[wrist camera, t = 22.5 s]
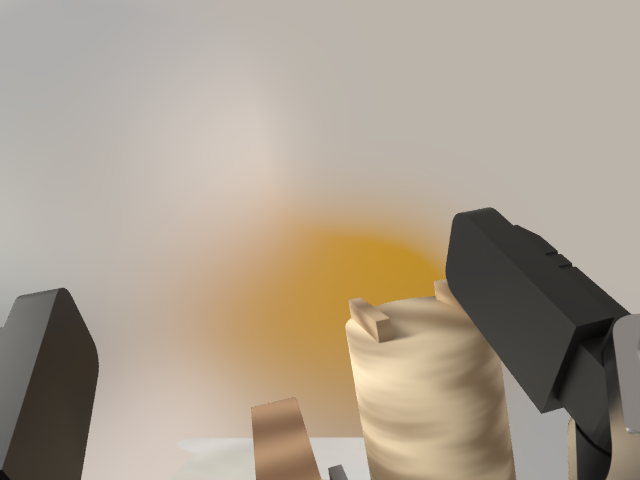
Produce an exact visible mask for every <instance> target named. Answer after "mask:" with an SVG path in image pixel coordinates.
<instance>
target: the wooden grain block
mask: <svg viewBox="0 0 640 480" xmlns="http://www.w3.org/2000/svg"><path fill="white" fill-rule="evenodd" d="M251 413H252V427H253V442H254V456H255V470H256V480H321V477H320V474H319V471H318V467H317V464H316V461H315V458H314V454H313V451H312V448H311V445H310V441H309V438H308V435H307V431H306V428H305V425H304V422H303V418H302V415H301V412H300V409H299V405H298V402H297V399H296V397H293V398H289V399H285V400H280V401H276V402H272V403H268V404H264V405H260V406H256V407H252V408H251Z"/></svg>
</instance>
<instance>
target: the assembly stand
mask: <svg viewBox="0 0 640 480" xmlns="http://www.w3.org/2000/svg"><path fill="white" fill-rule="evenodd" d="M328 470H329V475H330V480H348V479H347V477H346V474H345V472H344V470H343V467H342V465H338V466H334V467H331V468H328Z"/></svg>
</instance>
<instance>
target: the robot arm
mask: <svg viewBox="0 0 640 480" xmlns="http://www.w3.org/2000/svg"><path fill="white" fill-rule="evenodd" d="M446 279H447V283H448V286H449V289H450V291H451V293H452V294H453V296H454V297H455V299H456V300H457V301H458V303H459V304H460V305H461V307H462V308H463V309H464V311H465V312H466V313H467V315H468V316H469V317H470V319H471V320H472V321H473V323H474V324H475V325H476V327H477V328H478V329H479V331H480V332H481V333H482V335H483V336H484V338H485V339H486V340H487V342H488V343H489V344H490V346H491V347H492V348H493V350H494V351H495V352H496V354H497V355H498V356H499V358H500V359H501V360H502V361H503V363H504V364H505V366H506V367H507V368H508V370H509V371H510V372H511V374H512V375H513V376H514V378H515V379H516V380H517V382H518V383H519V384H520V386H521V387H522V388H523V390H524V391H525V392H526V394H527V395H528V396H529V398H530V399H531V401H532V402H533V403H534V404H535V406H536V407H537V408H538V410H539V411H540V413H541V414H542V413H546V412H549V411H553V410H556V409H560V408H563V407H564V408H565V409H566V410H567V412H568V413H569V414H570V416H571V419H570V421H569V423H568V464H569V480H640V314H630V313H629V312H628V311H627V310H625V309H624V308H623V307H622V306H621V305H619V303H617V302H616V301H615V300H614V299H613V298H612V297H610V296H609V295H608V294H607V293H606V292H605V291H604V290H602V289H601V288H600V287H599V286H598V285H596V284H595V283H594V282H593V281H592V280H591V279H589V278H588V277H587V276H586V275H585V274H584V273H583V272H581V271H580V270H579V269H578V268H577V267H573V266H572V263H571V262H570V261H569V260H567V259H566V258H565V257H564V256H563V255H562V254H558V252H557V250H556V249H555V248H553V247H552V246H551V245H550V244H549V243H548V242H547V241H545V240H544V239H543V238H542V237H541V236H539V235H537V234H535V233H533V232H531V231H529V230H526V229H524V228H522V227H520V226H518V225H514V226H513V225H512V224H511V223H510V222H509V221H508V220H506V219H505V218H504V217H503V216H502V215H501V214H500V213H499V212H498V211H496V210H495V209H493V208H490V207H489V208H483V209H478V210H473V211H468V212H462V213H458V214H456V215H455V217H454V219H453V222H452V228H451V235H450V242H449V248H448V255H447V262H446ZM98 372H99V362H98V354H97V350H96V346H95V343H94V341H93V339H92V337H91V335H90V333H89V331H88V329H87V327H86V324H85V322H84V321H83V318H82V316H81V314H80V312H79V310H78V308H77V306H76V304H75V302H74V300H73V298H72V296H71V294H70V293H69V291H68V290H67V289H65V288H59V289H53V290H48V291H43V292H37V293H33V294H27V295H22V296H19V297H18V298H17V299H16V300H15V302H14V304H13V307H12V309H11V311H10V314H9V316H8V318H7V321H6V323H5V326H4V327H1V328H0V480H81V475H82V469H83V462H84V457H85V451H86V445H87V439H88V433H89V426H90V421H91V415H92V409H93V403H94V397H95V391H96V385H97V378H98Z"/></svg>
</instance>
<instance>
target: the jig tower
mask: <svg viewBox="0 0 640 480" xmlns="http://www.w3.org/2000/svg"><path fill="white" fill-rule="evenodd" d="M434 288H435V294H436V296H433V297H419V298H411V299H404V300H399V301H394V302H389V303H385V304H382V305H378V306H375V307H373V306H372V305H370V304H369V303H367V302H366V301H364V300H363V299H361V298H356V299H351V300H349V306H350V313H351V319H350V320H349V321H348V322H347V324H346V327H345V328H346V334H347V340H348V346H349V352H350V358H351V364H352V370H353V376H354V382H355V387H356V394H357V400H358V405H359V411H360V417H361V423H362V429H363V435H364V441H365V447H366V453H367V459H368V465H369V471H370V477H371V480H516V473H515V466H514V458H513V451H512V443H511V435H510V427H509V420H508V412H507V405H506V397H505V389H504V382H503V374H502V366H501V359H500V358H499V356H498V355H497V354H496V352H495V351H494V350H493V348H492V347H491V346H490V344H489V343H488V342H487V340H486V339H485V338H484V336H483V335H482V333H481V332H480V331H479V329H478V328H477V327H476V325H475V324H474V323H473V321H472V320H471V319H470V317H469V316H468V315H467V313H466V312H465V311H464V309H463V308H462V307H461V305H460V304H459V303H458V301H457V300H456V299H455V297H454V296H453V294H452V293H451V291H450V289H449V286H448V283H447V280H446V279H443V280H438V281H434Z"/></svg>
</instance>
